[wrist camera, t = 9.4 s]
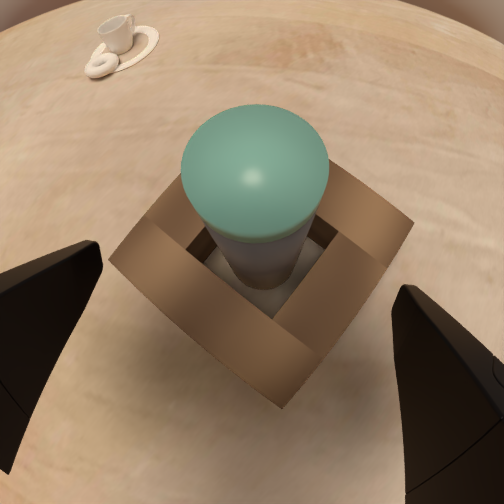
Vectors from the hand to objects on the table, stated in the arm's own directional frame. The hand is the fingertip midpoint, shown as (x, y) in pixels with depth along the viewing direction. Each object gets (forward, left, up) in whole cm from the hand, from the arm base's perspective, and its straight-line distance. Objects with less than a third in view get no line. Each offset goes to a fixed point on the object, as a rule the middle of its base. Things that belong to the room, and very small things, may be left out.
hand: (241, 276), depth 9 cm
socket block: (+2, -3, -11) cm, 11 cm away
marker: (+2, -2, -11) cm, 11 cm away
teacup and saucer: (+29, -9, -12) cm, 32 cm away
